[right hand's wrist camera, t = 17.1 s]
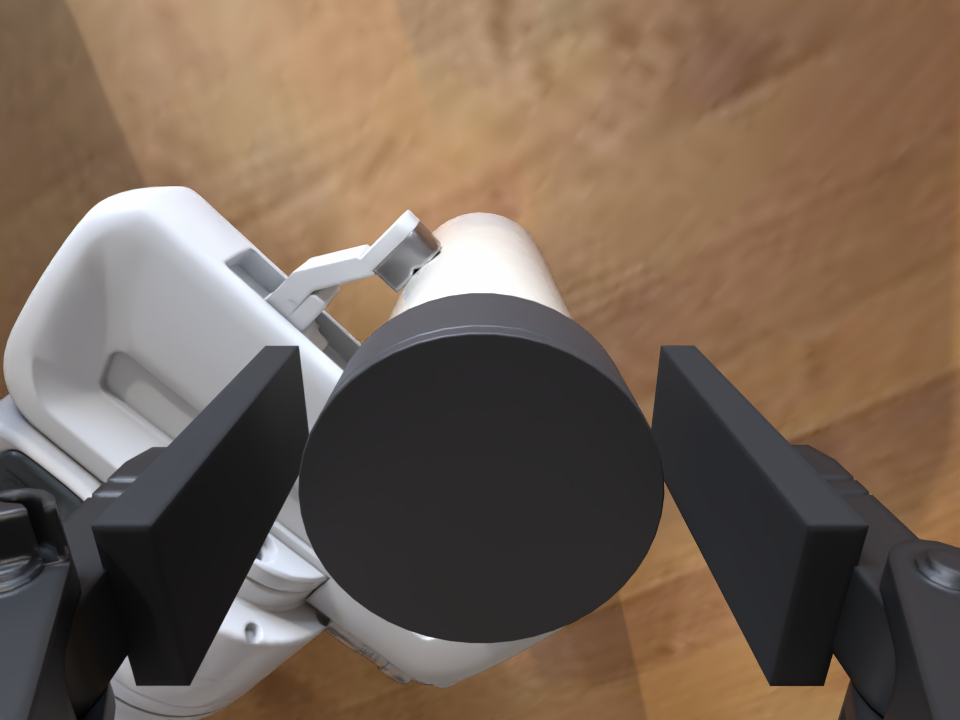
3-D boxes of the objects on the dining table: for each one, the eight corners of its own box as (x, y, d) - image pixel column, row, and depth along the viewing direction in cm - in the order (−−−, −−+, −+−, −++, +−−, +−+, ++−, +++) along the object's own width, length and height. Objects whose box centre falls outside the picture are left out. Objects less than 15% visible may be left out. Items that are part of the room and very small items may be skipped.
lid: (660, 516, 13) (697, 596, 11) (396, 587, 14) (379, 676, 12) (587, 247, 11) (615, 278, 9) (279, 348, 12) (232, 401, 9)
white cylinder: (426, 347, 26) (361, 619, 12) (404, 221, 24) (295, 363, 10) (550, 332, 26) (640, 591, 11) (539, 204, 24) (628, 323, 10)
